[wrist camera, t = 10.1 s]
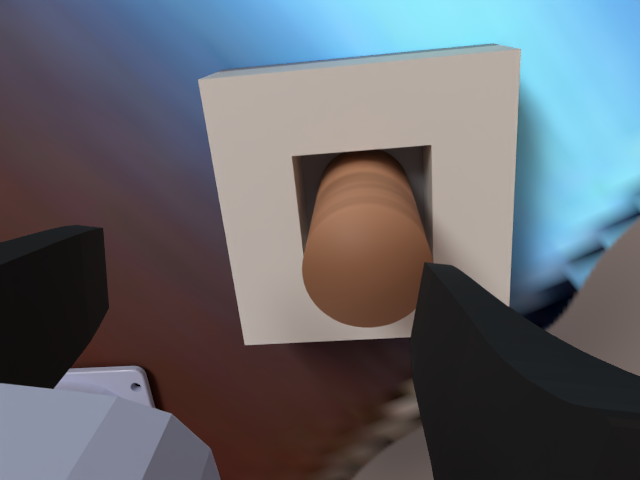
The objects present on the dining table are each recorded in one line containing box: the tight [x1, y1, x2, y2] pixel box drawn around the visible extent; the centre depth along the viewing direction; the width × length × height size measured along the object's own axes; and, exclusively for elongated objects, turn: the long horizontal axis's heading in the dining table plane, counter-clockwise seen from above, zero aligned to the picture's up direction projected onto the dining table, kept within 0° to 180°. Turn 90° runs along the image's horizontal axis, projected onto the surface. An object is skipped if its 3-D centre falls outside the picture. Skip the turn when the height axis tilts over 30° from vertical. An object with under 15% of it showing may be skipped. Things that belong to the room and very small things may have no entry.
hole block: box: [198, 44, 521, 345], centre depth 20 cm, size 10×10×4 cm
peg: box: [302, 149, 433, 328], centre depth 17 cm, size 4×4×7 cm
